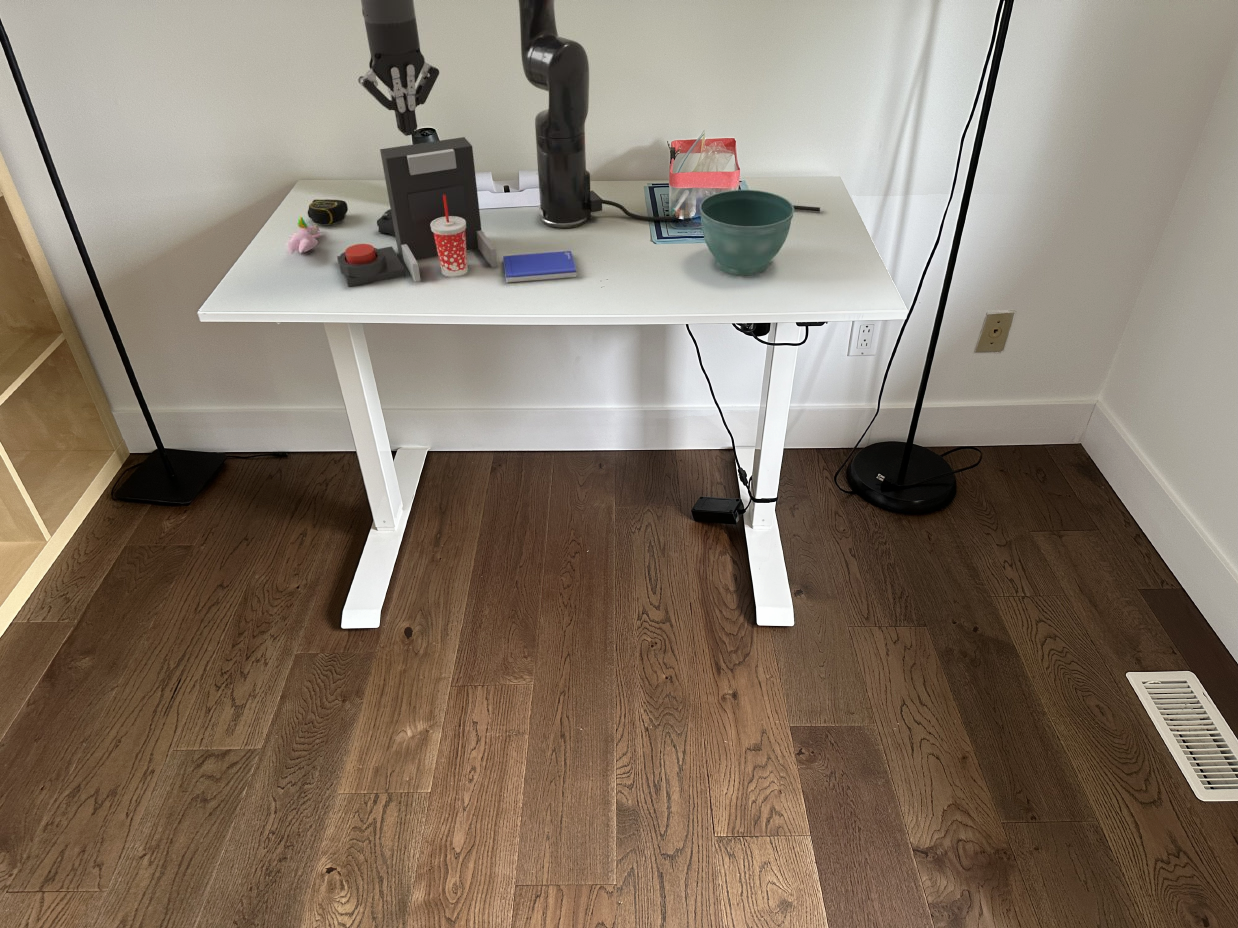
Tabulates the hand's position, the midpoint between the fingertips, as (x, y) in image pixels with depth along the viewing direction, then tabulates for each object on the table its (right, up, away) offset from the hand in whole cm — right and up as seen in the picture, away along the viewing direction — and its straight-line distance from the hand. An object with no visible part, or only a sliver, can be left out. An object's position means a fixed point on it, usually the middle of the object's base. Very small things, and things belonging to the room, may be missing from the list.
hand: (408, 133), depth 139 cm
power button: (-11, -17, +12) cm, 24 cm away
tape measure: (-24, -5, +33) cm, 41 cm away
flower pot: (+56, -17, +17) cm, 61 cm away
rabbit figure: (-25, -13, +23) cm, 36 cm away
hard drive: (+20, -19, +16) cm, 31 cm away
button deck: (-11, -18, +16) cm, 26 cm away
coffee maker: (+2, -16, +19) cm, 25 cm away
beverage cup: (+4, -19, +16) cm, 25 cm away
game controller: (-9, -7, +30) cm, 32 cm away
